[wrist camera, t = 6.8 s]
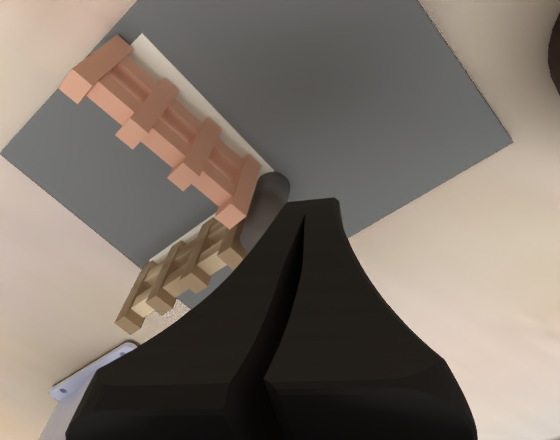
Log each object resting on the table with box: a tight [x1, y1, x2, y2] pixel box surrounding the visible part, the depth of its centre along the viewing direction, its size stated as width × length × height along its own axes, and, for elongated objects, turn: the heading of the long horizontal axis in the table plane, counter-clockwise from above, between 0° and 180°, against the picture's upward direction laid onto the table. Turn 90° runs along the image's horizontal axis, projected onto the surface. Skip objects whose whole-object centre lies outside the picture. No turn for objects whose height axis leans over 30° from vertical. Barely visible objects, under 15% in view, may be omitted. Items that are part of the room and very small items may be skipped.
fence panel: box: [58, 34, 262, 230], centre depth 20 cm, size 8×1×4 cm, turn 45°
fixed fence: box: [115, 172, 290, 335], centre depth 24 cm, size 10×2×4 cm, turn 131°
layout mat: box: [0, 0, 513, 309], centre depth 23 cm, size 19×14×1 cm
